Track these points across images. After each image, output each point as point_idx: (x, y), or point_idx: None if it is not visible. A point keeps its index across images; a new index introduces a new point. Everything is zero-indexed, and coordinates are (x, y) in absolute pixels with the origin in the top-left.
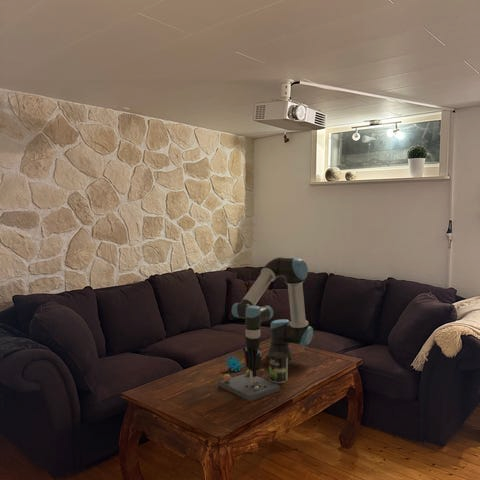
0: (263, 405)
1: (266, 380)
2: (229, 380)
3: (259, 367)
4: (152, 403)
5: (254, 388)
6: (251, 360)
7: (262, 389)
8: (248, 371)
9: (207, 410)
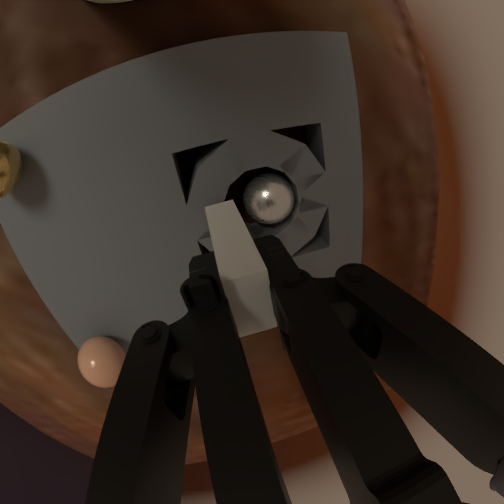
0: (406, 240)
1: (181, 49)
2: (123, 351)
3: (388, 284)
4: (191, 460)
5: (287, 230)
6: (269, 444)
7: (333, 186)
8: (4, 185)
9: (301, 401)
